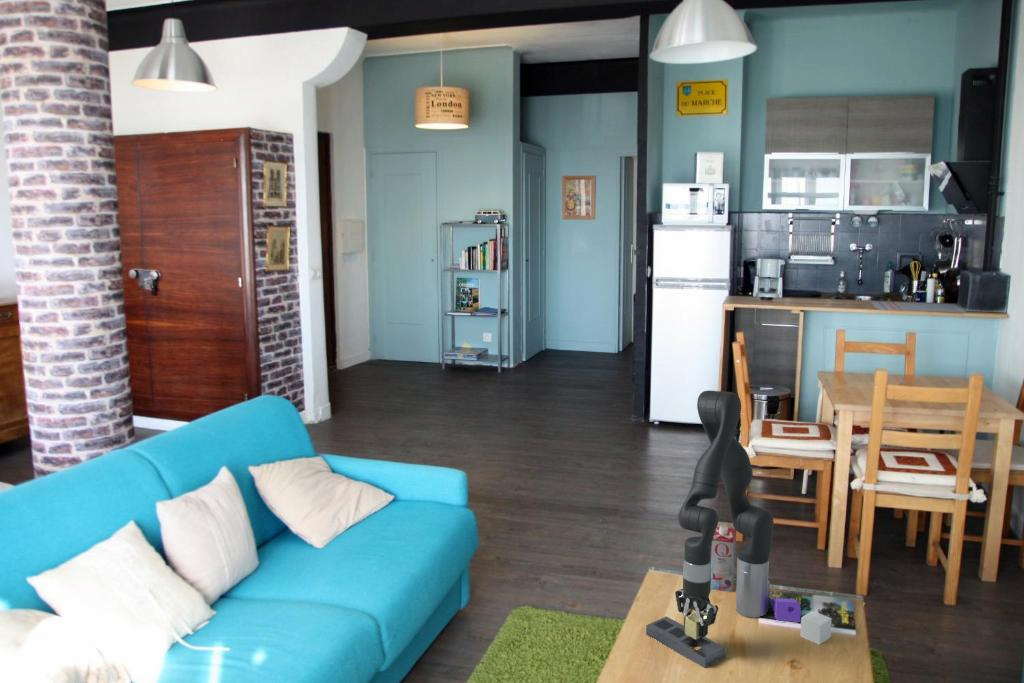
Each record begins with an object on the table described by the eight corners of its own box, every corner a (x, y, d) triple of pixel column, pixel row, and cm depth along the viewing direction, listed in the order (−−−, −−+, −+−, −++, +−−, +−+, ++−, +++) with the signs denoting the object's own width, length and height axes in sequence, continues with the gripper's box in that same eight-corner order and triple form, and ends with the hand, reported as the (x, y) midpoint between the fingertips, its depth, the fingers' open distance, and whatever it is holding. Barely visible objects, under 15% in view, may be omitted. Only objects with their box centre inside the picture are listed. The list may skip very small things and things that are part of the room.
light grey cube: (800, 636, 244) (801, 617, 243) (811, 629, 248) (812, 610, 247) (819, 645, 240) (820, 625, 239) (830, 637, 243) (831, 618, 242)
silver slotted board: (666, 625, 252) (666, 615, 251) (725, 657, 234) (725, 647, 234) (646, 634, 247) (646, 625, 246) (704, 668, 229) (705, 657, 229)
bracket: (799, 624, 252) (800, 602, 250) (776, 622, 253) (776, 601, 251) (793, 604, 263) (794, 584, 262) (770, 603, 264) (771, 583, 263)
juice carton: (731, 592, 271) (733, 527, 267) (710, 589, 274) (712, 524, 270) (734, 583, 277) (736, 519, 273) (713, 580, 280) (715, 517, 276)
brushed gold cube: (693, 628, 239) (693, 612, 238) (706, 635, 235) (707, 619, 235) (683, 633, 237) (684, 616, 236) (697, 640, 233) (697, 623, 232)
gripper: (726, 580, 230) (724, 638, 233) (686, 562, 241) (685, 618, 244) (708, 588, 225) (706, 647, 228) (668, 570, 237) (667, 626, 240)
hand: (695, 632), depth 236 cm, fingers closed on brushed gold cube, 4 cm apart
